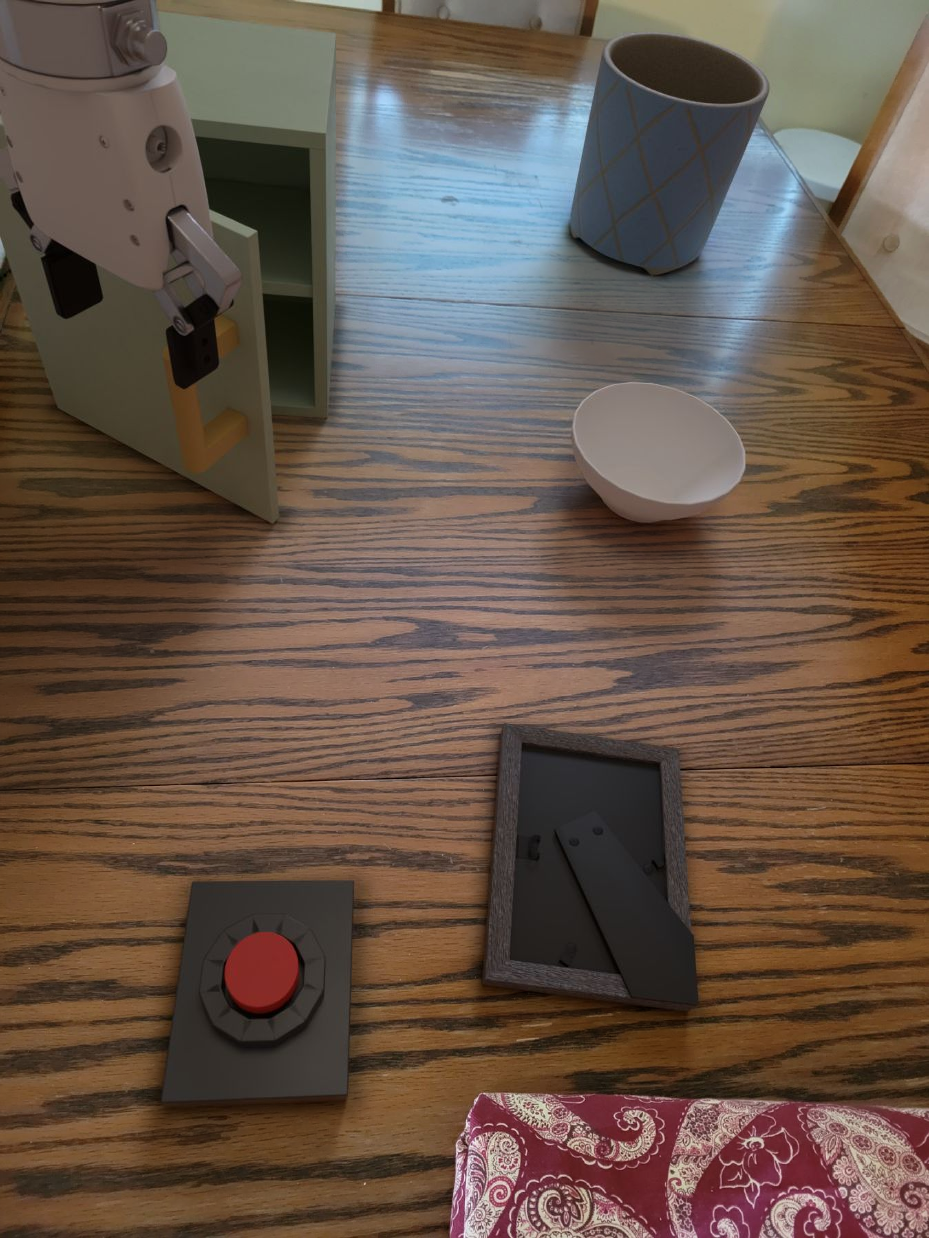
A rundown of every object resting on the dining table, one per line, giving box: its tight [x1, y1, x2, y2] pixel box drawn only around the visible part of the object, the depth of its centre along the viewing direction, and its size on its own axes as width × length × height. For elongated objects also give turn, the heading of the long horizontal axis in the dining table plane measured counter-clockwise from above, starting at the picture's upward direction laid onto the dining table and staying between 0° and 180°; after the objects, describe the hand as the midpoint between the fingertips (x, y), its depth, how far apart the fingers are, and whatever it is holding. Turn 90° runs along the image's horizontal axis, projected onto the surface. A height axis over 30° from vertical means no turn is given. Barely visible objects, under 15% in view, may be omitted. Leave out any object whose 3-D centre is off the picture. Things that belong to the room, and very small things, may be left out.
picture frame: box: [481, 722, 700, 1013], centre depth 57 cm, size 13×2×18 cm
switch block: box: [160, 879, 355, 1109], centre depth 49 cm, size 12×10×4 cm
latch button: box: [225, 932, 299, 1014], centre depth 47 cm, size 4×4×2 cm
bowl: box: [570, 381, 746, 524], centre depth 78 cm, size 16×16×7 cm
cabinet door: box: [0, 114, 280, 525], centre depth 63 cm, size 7×24×26 cm, turn 60°
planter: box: [569, 31, 771, 276], centre depth 101 cm, size 19×19×20 cm
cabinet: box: [0, 10, 337, 419], centre depth 74 cm, size 18×24×26 cm
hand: (138, 342), depth 52 cm, fingers open, 9 cm apart
